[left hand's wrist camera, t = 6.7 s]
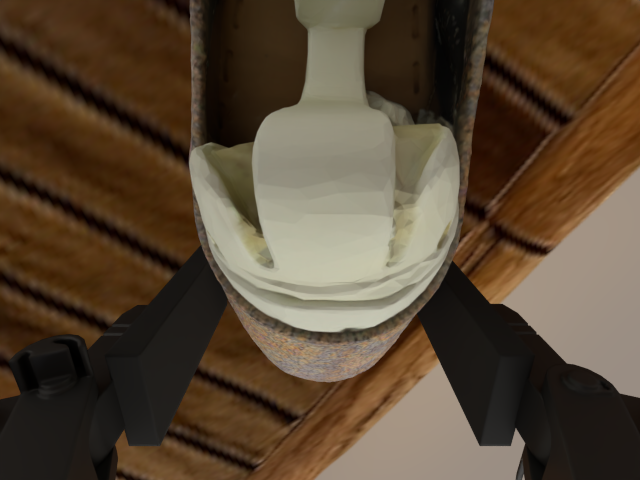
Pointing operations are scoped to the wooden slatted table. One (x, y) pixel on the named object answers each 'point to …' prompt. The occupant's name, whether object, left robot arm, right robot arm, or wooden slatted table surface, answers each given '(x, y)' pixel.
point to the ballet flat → (332, 165)
